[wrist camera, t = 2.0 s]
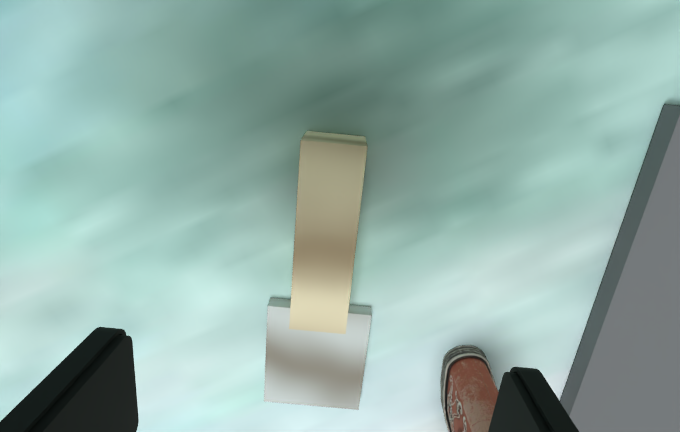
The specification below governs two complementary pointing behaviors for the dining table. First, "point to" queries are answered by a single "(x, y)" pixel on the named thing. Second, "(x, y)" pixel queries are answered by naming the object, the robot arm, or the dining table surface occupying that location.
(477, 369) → the lighter
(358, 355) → the turner
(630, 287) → the mat
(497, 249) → the dining table surface
